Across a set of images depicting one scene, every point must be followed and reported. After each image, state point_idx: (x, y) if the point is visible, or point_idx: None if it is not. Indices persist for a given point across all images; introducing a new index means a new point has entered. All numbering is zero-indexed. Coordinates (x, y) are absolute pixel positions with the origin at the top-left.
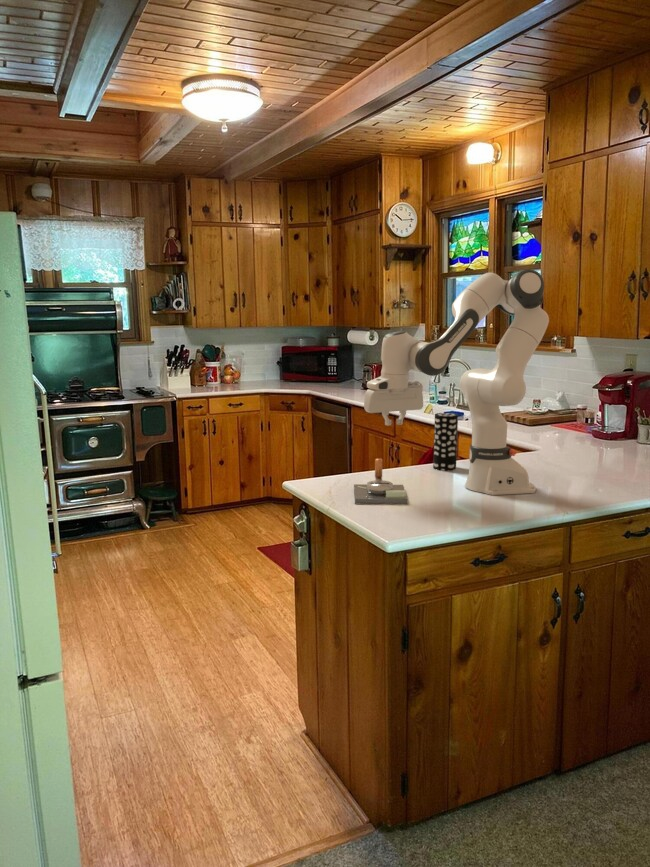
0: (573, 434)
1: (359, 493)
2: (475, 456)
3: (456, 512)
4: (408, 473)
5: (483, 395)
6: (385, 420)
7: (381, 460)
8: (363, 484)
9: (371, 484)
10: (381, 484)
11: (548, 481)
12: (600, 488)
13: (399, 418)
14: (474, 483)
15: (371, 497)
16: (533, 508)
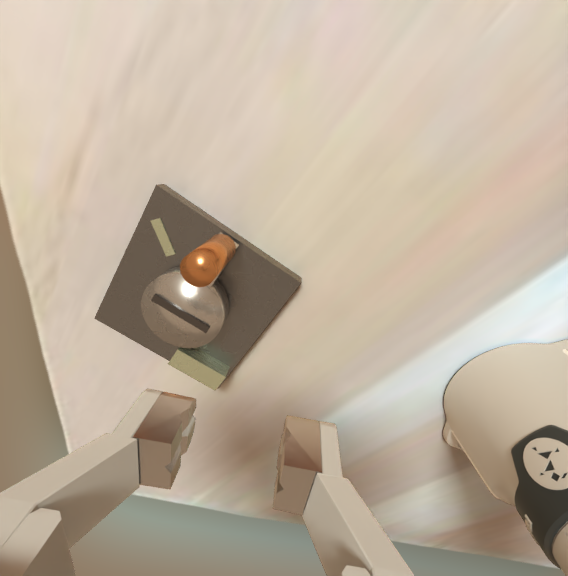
0: None
1: (127, 285)
2: (520, 491)
3: (274, 461)
4: (499, 101)
5: None
6: (118, 435)
7: (202, 286)
8: (187, 205)
9: (152, 306)
10: (180, 323)
11: None
12: None
13: (312, 492)
14: (458, 411)
15: (141, 331)
16: (419, 514)
